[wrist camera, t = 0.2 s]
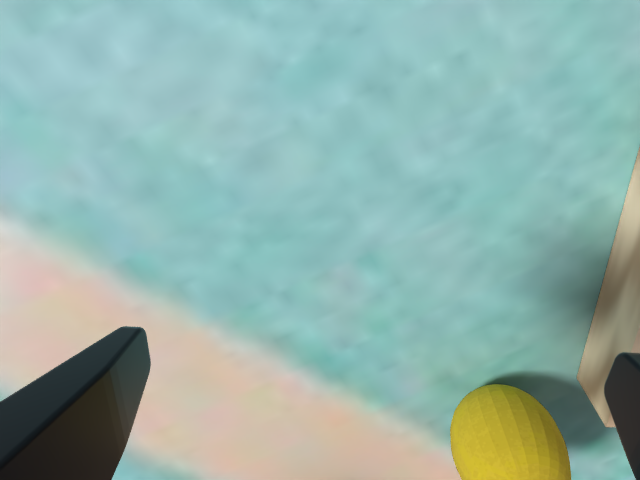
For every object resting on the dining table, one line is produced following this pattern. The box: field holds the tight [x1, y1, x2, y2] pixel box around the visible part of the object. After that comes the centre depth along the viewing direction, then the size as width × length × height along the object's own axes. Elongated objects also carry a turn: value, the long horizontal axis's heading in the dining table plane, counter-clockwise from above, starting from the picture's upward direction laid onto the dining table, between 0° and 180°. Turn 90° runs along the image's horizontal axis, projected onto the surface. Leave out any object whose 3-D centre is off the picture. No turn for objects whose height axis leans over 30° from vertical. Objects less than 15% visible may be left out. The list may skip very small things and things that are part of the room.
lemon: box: [450, 384, 571, 480], centre depth 25 cm, size 6×6×8 cm
